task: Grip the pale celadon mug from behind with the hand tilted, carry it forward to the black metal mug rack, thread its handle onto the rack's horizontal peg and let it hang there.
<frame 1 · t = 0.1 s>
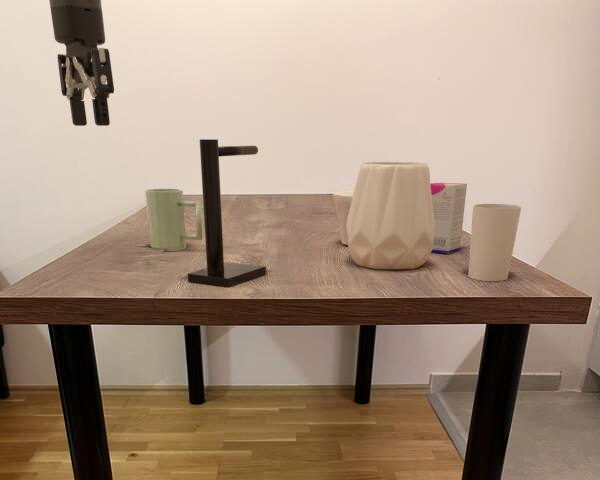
hand: (91, 125, 103), 20 cm above the table, tool pointing down, fingers open, 8 cm apart
mug: (168, 248, 116), on the table
mug rack: (216, 281, 91), on the table
vase: (387, 264, 104), on the table
cup: (358, 246, 121), on the table
supplement box: (439, 252, 115), on the table
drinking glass: (487, 278, 95), on the table
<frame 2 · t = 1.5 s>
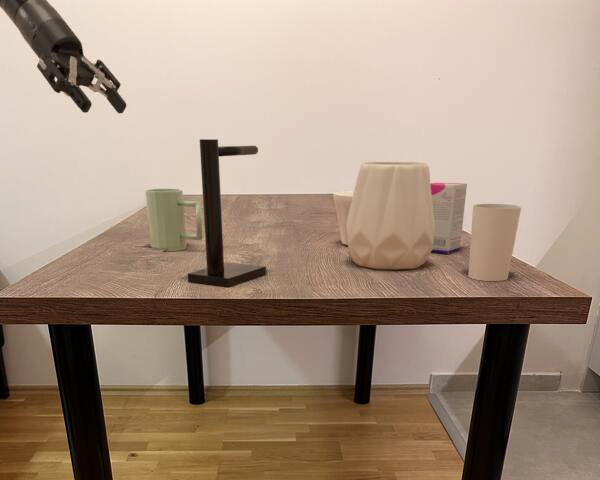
hand: (106, 109, 111), 23 cm above the table, tool tilted 45°, fingers open, 8 cm apart
nothing on the table moved.
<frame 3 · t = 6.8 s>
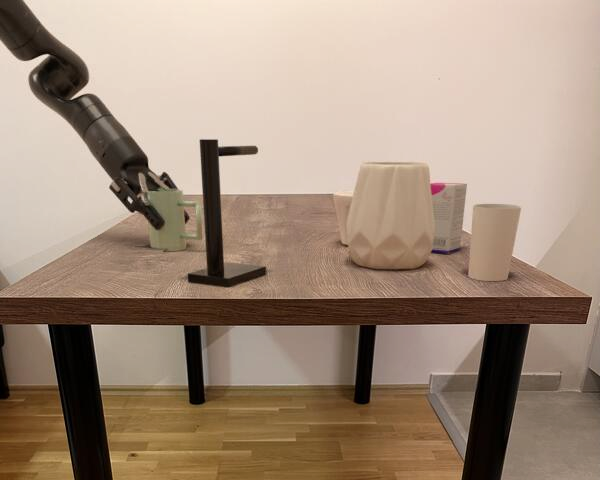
hand: (173, 224, 114), 4 cm above the table, tool tilted 45°, fingers closed on mug, 6 cm apart
mug: (168, 248, 116), on the table, touching gripper
everything else where it was.
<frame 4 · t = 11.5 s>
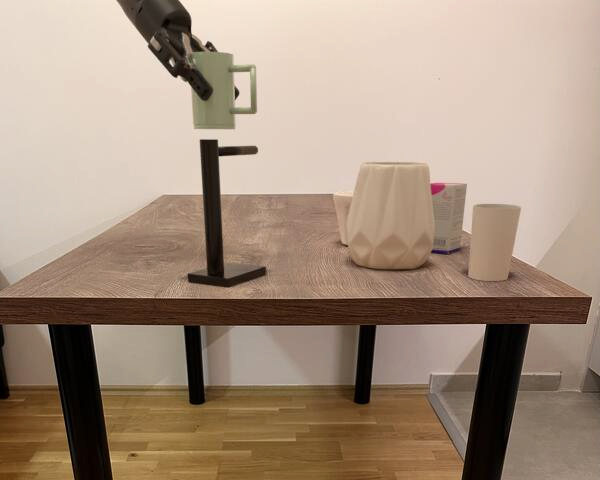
hand: (222, 97, 96), 24 cm above the table, tool tilted 45°, fingers closed on mug, 6 cm apart
mug: (214, 129, 98), point 20 cm above the table, touching gripper
everything else where it was.
when the fingers open (14 cm above the table, at t = 16.6 s): mug moves 10 cm and tips over, resting on mug rack.
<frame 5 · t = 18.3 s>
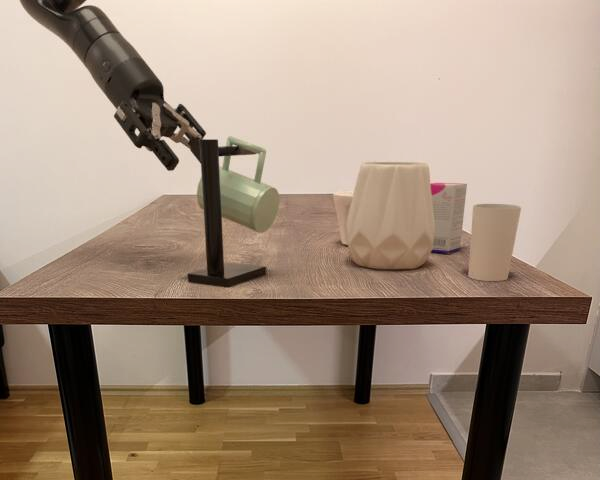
hand: (193, 165, 93), 15 cm above the table, tool tilted 45°, fingers open, 8 cm apart
mug: (267, 210, 90), point 9 cm above the table, tilted 75°, touching mug rack
everything else where it was.
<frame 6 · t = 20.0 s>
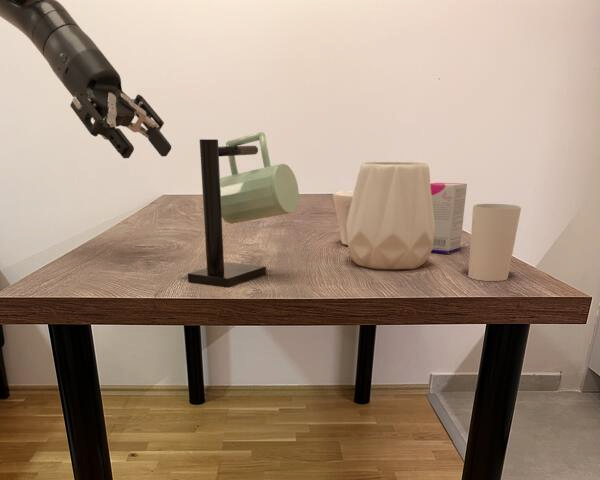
hand: (149, 153, 96), 16 cm above the table, tool tilted 45°, fingers open, 8 cm apart
mug: (287, 188, 87), point 12 cm above the table, tilted 102°, touching mug rack
everything else where it was.
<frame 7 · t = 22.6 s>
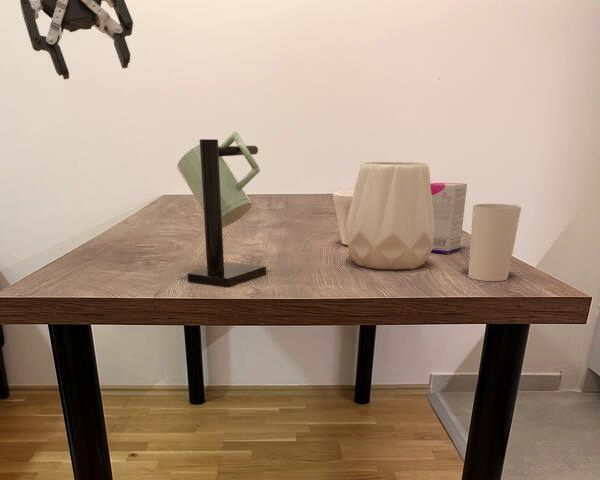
hand: (96, 71, 90), 27 cm above the table, tool tilted 25°, fingers open, 8 cm apart
mug: (233, 216, 93), point 8 cm above the table, tilted 38°, touching mug rack
everything else where it was.
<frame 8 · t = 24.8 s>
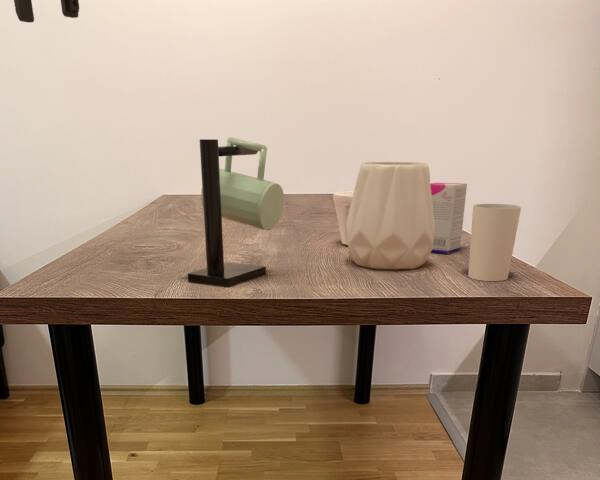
hand: (48, 19, 87), 33 cm above the table, tool pointing down, fingers open, 8 cm apart
mug: (272, 207, 89), point 10 cm above the table, tilted 80°, touching mug rack
everything else where it was.
at the end: mug inside the target area on the mug rack (5.5 cm from its centre), point 9.8 cm above the mug rack's base; mug touching mug rack; the gripper is holding nothing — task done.
